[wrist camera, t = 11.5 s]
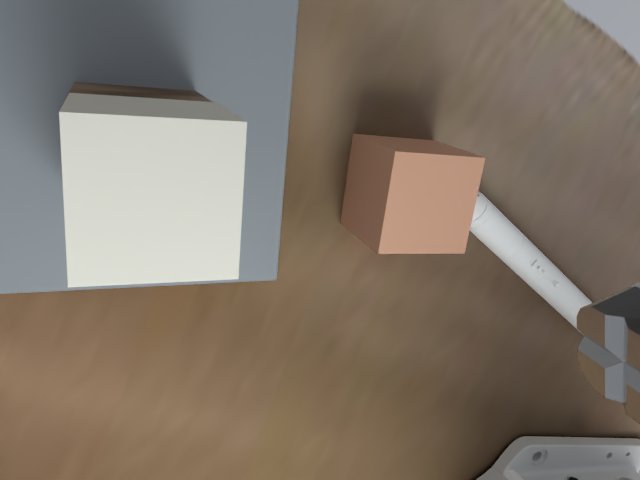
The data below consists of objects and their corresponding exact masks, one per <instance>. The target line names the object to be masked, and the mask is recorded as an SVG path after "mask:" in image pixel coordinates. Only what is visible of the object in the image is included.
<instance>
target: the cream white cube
mask: <svg viewBox="0 0 640 480" xmlns="http://www.w3.org/2000/svg"><path fill="white" fill-rule="evenodd" d="M59 122H60V141H61V161H62V181H63V200H64V220H65V240H66V260H67V279H68V288H69V287H89V286H110V285H131V284H151V283H172V282H192V281H213V280H234V279H239V260H240V242H241V224H242V206H243V188H244V170H245V152H246V134H247V121H245V120H243V119H242V118H240V117H239V116H237V115H236V114H234V113H233V112H231V111H229V110H228V109H226V108H225V107H223V106H222V105H220V104H219V103H217V102H205V101H189V100H174V99H158V98H143V97H127V96H112V95H96V94H81V93H69V94H68V96H67V98H66V100H65V102H64V104H63V105H62V107H61V109H60V111H59Z"/></svg>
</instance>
